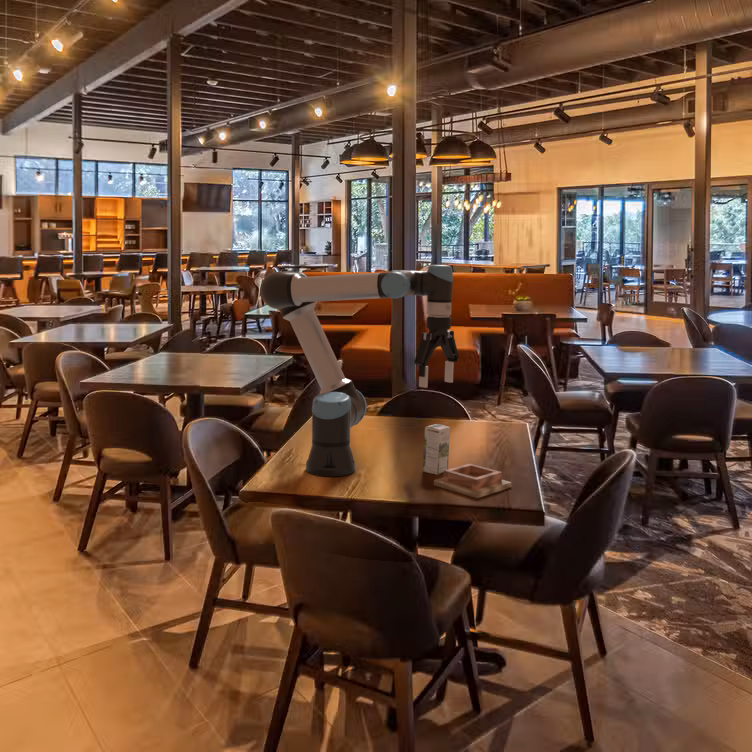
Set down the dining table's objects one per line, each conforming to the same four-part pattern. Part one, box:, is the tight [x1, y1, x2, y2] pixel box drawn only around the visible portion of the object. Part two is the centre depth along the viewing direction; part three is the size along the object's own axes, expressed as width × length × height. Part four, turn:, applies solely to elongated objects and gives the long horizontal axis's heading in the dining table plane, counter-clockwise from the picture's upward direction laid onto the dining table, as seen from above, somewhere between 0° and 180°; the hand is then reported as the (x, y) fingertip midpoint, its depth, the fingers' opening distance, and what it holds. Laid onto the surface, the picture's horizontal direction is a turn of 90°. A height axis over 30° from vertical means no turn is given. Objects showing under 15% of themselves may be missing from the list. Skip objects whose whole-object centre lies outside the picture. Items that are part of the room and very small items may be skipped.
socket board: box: [433, 463, 512, 499], centre depth 233 cm, size 16×16×4 cm
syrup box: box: [422, 423, 451, 476], centre depth 246 cm, size 6×6×14 cm
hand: (436, 384), depth 247 cm, fingers open, 13 cm apart
